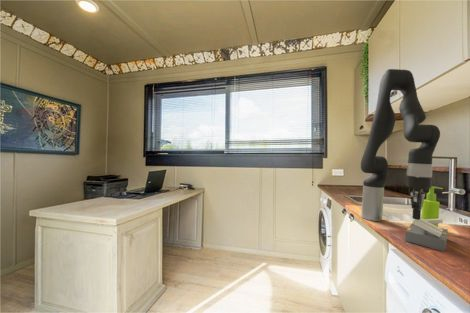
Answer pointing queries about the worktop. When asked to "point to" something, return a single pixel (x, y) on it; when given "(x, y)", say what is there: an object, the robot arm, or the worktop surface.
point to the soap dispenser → (431, 206)
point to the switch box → (426, 238)
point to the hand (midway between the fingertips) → (416, 218)
